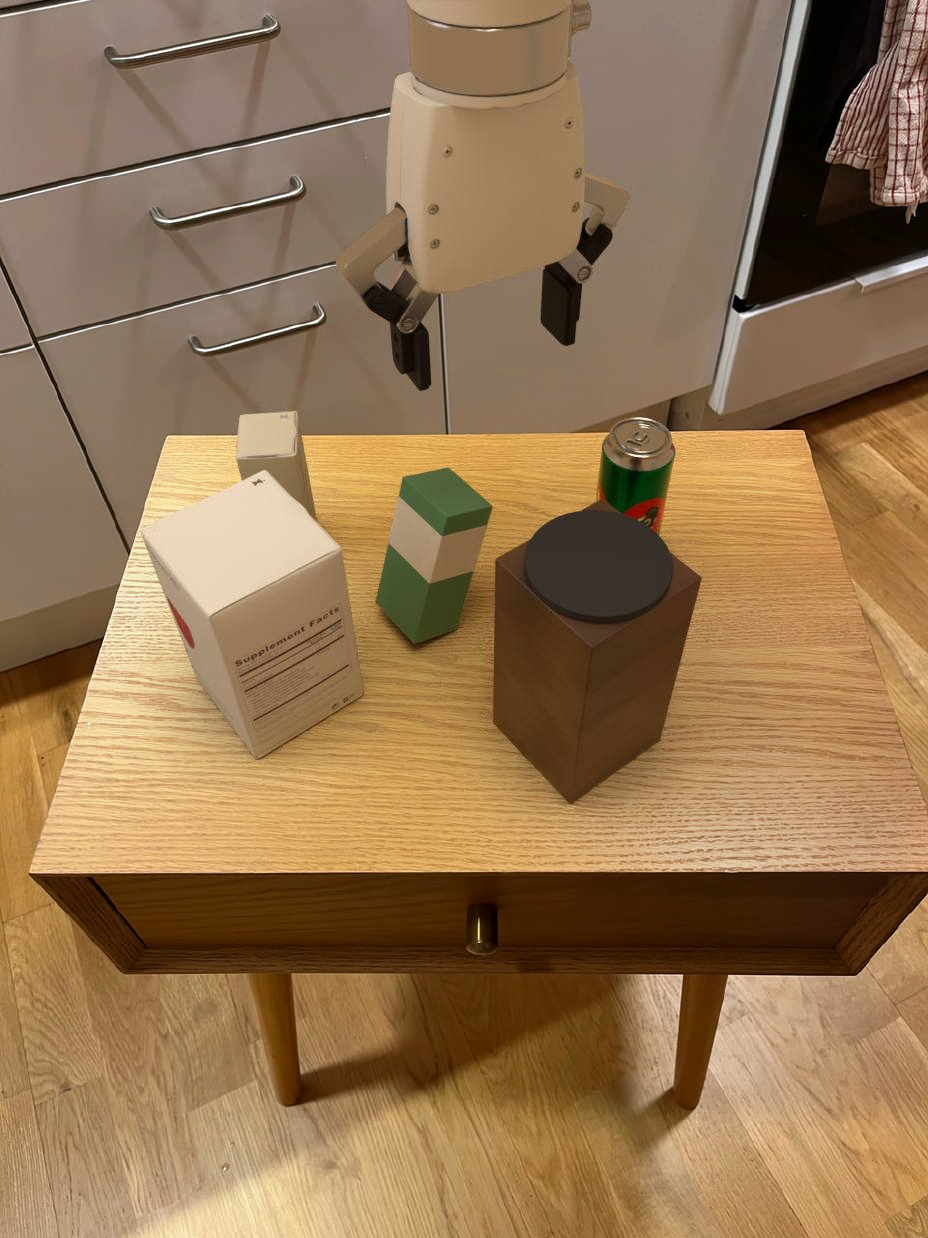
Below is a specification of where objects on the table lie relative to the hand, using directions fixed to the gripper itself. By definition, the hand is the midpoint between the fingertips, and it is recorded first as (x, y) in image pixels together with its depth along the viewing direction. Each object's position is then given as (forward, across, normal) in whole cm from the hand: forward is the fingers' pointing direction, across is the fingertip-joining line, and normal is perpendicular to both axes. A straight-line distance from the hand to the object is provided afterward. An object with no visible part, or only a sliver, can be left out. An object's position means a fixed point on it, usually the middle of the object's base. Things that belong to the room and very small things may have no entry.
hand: (487, 355), depth 58 cm
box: (+20, +12, -11) cm, 26 cm away
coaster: (+4, +1, +15) cm, 16 cm away
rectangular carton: (+20, +18, +2) cm, 27 cm away
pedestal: (+20, +1, +15) cm, 25 cm away
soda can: (+20, -10, +3) cm, 23 cm away
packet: (+15, +3, +1) cm, 15 cm away
